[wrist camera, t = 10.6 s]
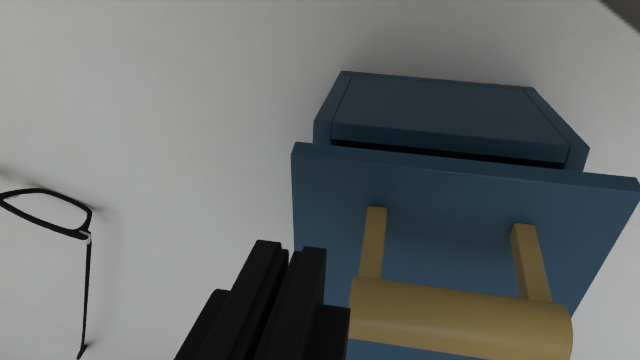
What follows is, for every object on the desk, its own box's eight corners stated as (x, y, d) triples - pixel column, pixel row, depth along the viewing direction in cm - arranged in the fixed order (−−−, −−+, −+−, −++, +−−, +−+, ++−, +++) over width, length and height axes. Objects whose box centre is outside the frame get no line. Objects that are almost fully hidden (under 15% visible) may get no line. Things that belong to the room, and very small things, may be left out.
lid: (295, 140, 17) (249, 270, 13) (637, 176, 16) (716, 335, 11) (301, 359, 27) (277, 476, 22) (516, 393, 25) (535, 525, 21)
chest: (340, 70, 30) (313, 119, 21) (533, 87, 28) (591, 147, 20) (327, 258, 35) (301, 359, 27) (487, 280, 34) (515, 393, 25)
